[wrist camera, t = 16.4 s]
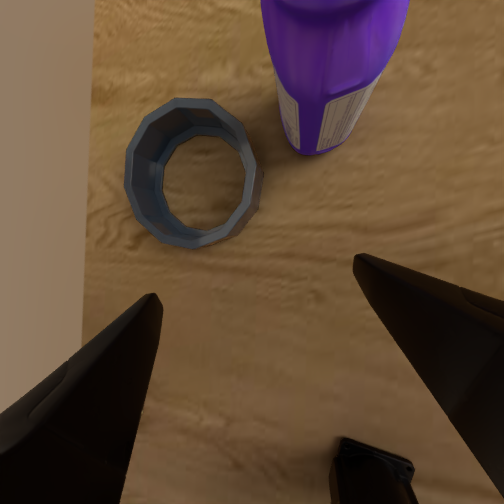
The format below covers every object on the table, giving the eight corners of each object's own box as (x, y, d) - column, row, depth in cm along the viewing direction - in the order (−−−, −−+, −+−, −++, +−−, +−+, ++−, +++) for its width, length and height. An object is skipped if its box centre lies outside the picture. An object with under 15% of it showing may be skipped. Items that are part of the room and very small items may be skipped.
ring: (272, 123, 19) (266, 101, 16) (250, 254, 21) (241, 259, 18) (155, 115, 22) (129, 95, 19) (146, 233, 24) (120, 234, 21)
